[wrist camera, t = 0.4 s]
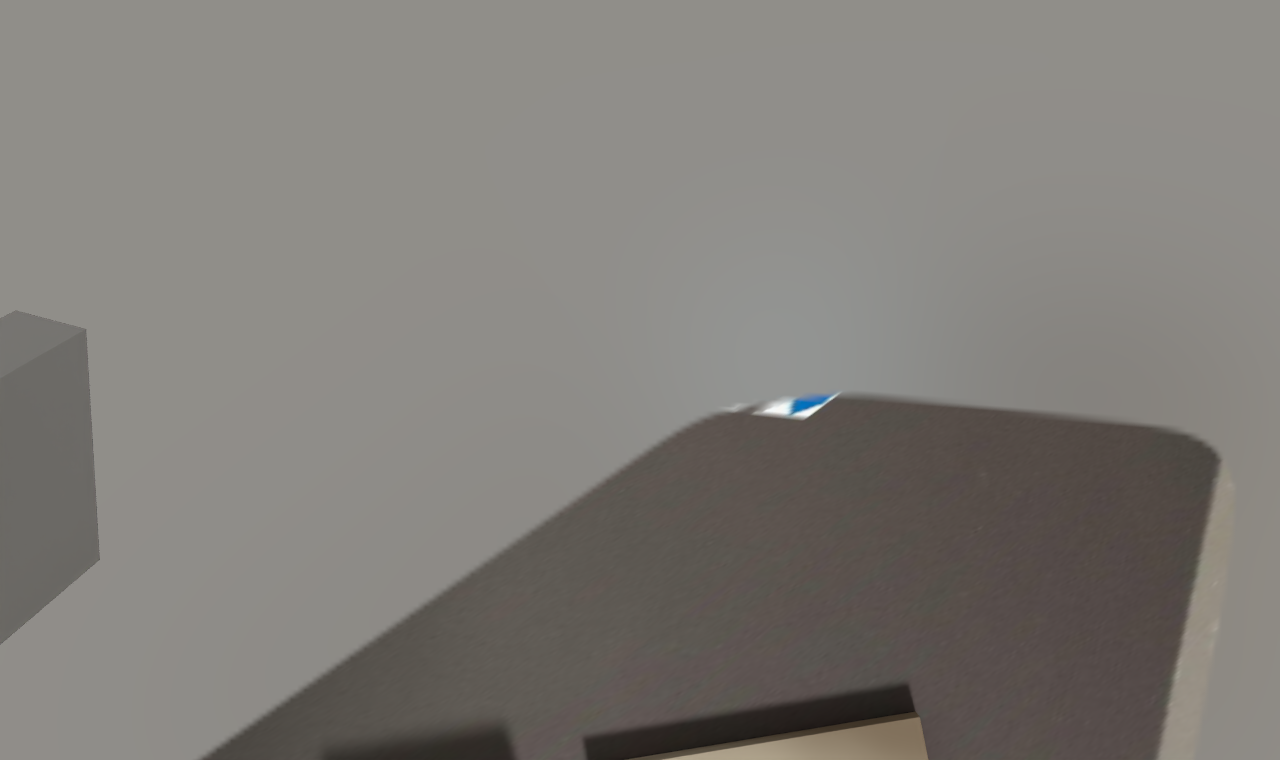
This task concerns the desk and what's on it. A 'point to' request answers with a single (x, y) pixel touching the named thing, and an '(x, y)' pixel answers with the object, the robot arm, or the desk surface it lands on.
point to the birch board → (823, 743)
